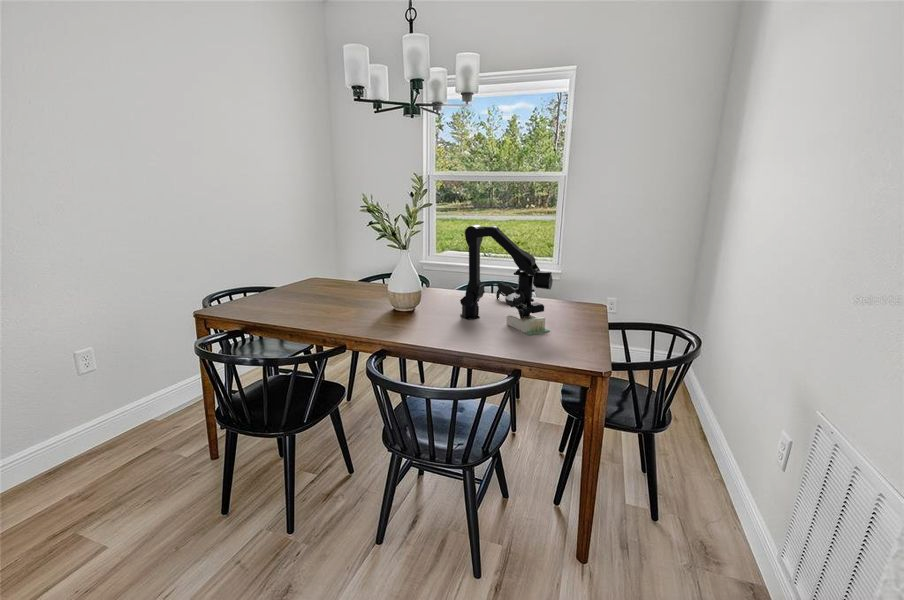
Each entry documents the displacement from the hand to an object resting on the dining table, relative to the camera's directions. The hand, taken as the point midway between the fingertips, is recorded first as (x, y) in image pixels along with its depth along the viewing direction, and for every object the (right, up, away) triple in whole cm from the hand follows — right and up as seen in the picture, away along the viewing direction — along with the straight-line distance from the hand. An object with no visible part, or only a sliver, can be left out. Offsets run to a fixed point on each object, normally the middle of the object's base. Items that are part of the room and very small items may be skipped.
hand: (523, 322), depth 174 cm
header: (+2, -2, -3) cm, 4 cm away
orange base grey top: (+2, -2, -3) cm, 4 cm away
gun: (-1, +8, +34) cm, 35 cm away
